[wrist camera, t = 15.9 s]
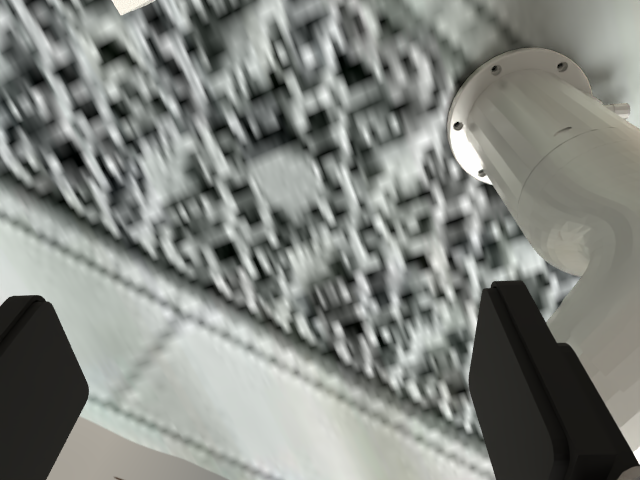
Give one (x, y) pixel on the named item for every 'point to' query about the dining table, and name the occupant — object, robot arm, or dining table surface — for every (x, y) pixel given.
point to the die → (129, 5)
